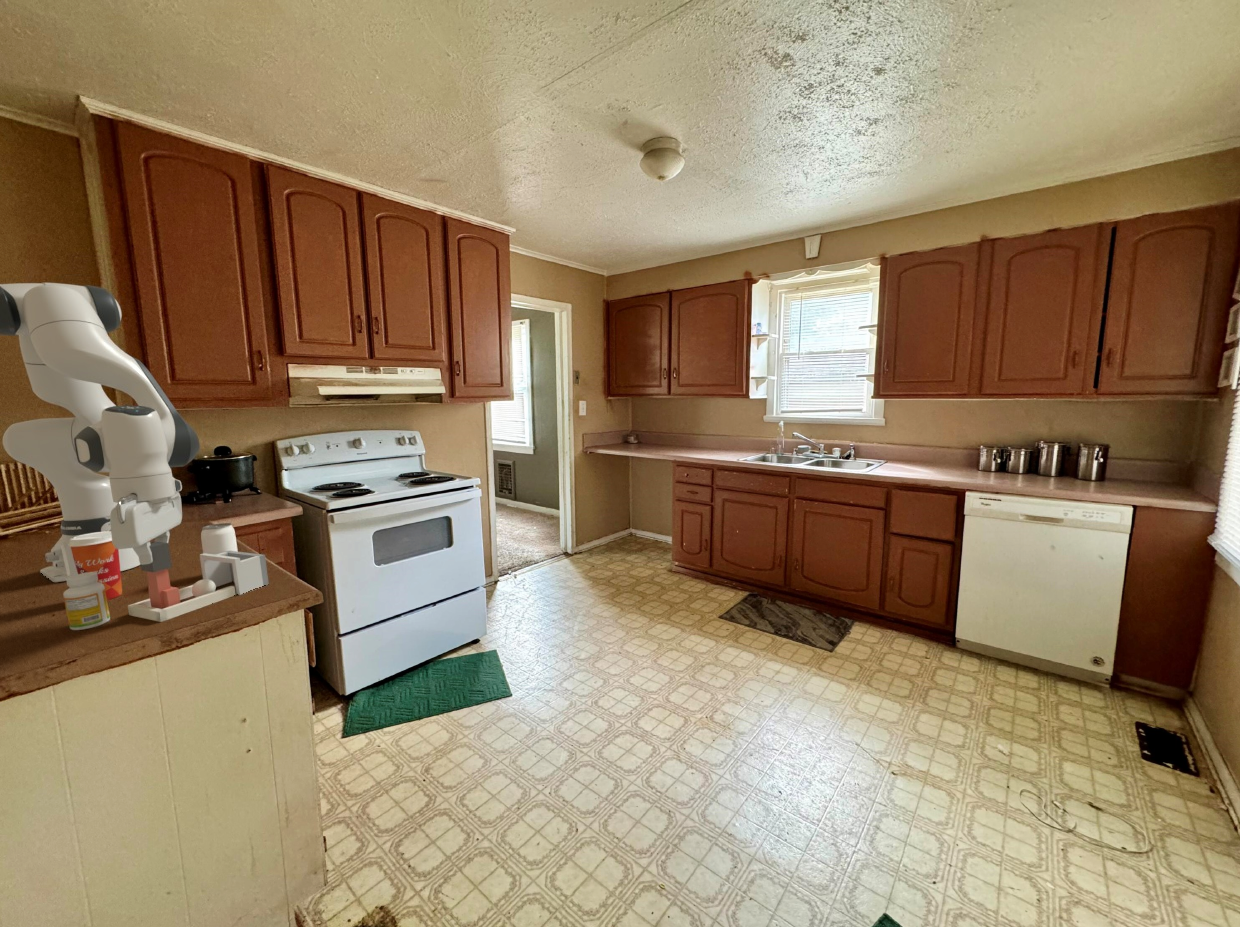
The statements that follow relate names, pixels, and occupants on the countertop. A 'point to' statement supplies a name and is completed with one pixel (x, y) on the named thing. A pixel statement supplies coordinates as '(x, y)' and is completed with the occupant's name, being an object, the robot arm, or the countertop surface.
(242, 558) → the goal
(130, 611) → the white flat open frame
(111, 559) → the paper cup
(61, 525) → the robot arm
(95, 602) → the supplement bottle
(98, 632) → the countertop surface
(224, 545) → the can
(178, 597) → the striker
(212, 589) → the ball
